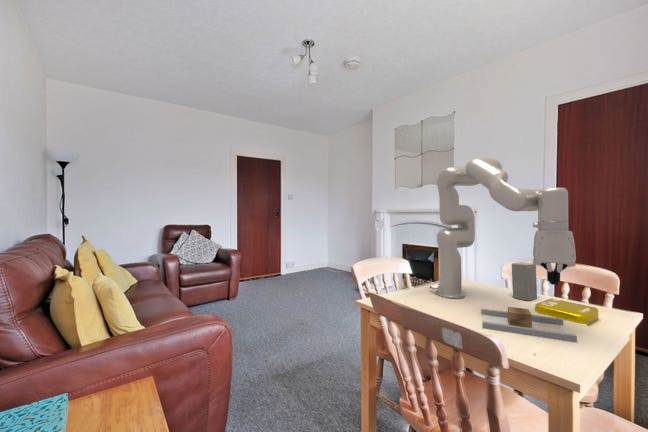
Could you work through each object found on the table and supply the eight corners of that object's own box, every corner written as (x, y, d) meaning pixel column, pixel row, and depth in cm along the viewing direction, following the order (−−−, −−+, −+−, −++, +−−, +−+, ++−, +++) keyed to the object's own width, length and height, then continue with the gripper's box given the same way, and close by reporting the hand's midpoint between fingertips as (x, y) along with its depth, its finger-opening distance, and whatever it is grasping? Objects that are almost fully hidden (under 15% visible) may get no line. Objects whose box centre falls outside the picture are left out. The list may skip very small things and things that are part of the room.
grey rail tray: (482, 331, 94) (482, 322, 94) (481, 316, 107) (481, 308, 107) (576, 346, 83) (576, 336, 83) (562, 327, 96) (562, 318, 96)
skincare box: (527, 301, 122) (527, 265, 122) (510, 297, 129) (510, 262, 128) (538, 298, 126) (538, 263, 126) (521, 294, 133) (520, 260, 132)
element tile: (584, 329, 95) (584, 315, 95) (533, 315, 108) (532, 303, 108) (600, 320, 103) (600, 306, 103) (550, 308, 116) (550, 296, 115)
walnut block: (509, 327, 94) (509, 312, 94) (507, 320, 99) (507, 306, 99) (531, 330, 91) (531, 315, 91) (528, 323, 97) (528, 309, 96)
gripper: (526, 227, 91) (527, 284, 91) (588, 227, 84) (588, 289, 84) (522, 226, 97) (523, 279, 97) (579, 226, 90) (580, 283, 90)
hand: (553, 283), depth 91 cm, fingers closed
